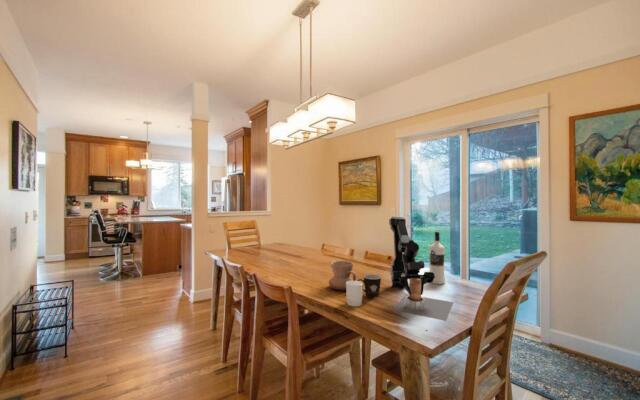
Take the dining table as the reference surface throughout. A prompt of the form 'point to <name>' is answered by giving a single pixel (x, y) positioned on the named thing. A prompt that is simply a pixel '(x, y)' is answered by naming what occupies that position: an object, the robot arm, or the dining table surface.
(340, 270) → the ceramic jug
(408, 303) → the stone sleeve
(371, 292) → the coffee mug
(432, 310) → the charcoal mat
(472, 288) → the dining table surface
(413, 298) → the terracotta plug
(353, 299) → the white cup
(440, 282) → the vodka
